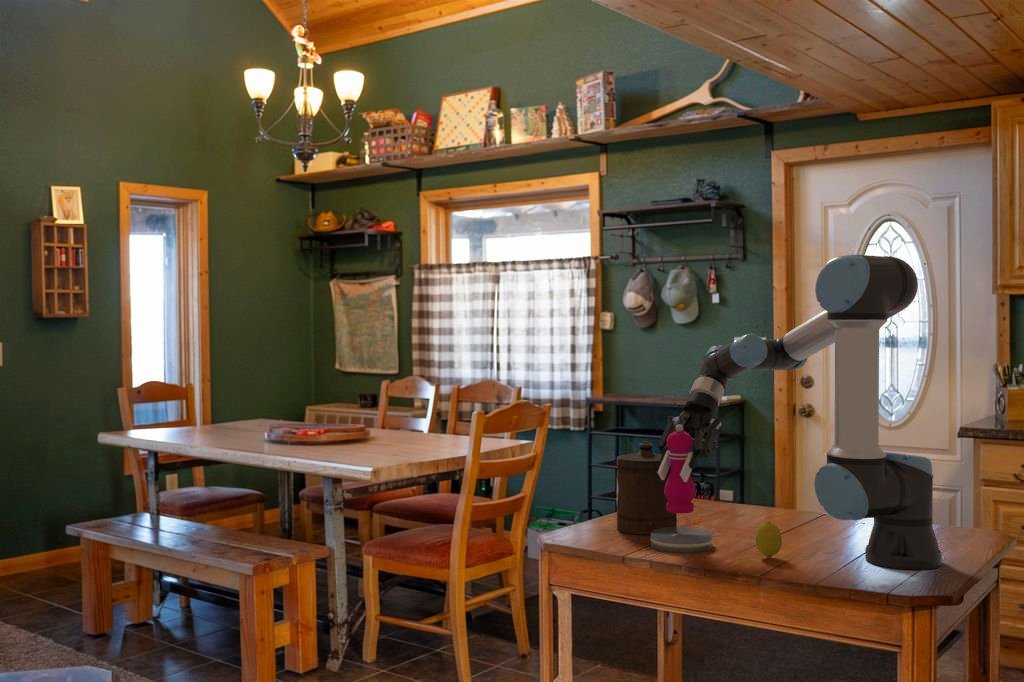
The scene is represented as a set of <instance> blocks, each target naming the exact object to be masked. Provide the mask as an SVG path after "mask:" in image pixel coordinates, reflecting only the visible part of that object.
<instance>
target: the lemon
mask: <svg viewBox="0 0 1024 682" xmlns="http://www.w3.org/2000/svg"><path fill="white" fill-rule="evenodd" d="M780 530H781V529H780V528H779V527H778V526H776V525H775V524H773V522H772V523H771V521H766V523H762V524H761V525H760V526H758V528H757V530H756V534H755V546H756V549H757V550H758V551H759V553H761V554H762V555H764V556H765V558H767V559H771V558H772V557H773V556H774V555H777V554H778V553H779V552H780V550H781V548H782V544H783V541H782V539H783V538H782V537H783V536H782V533H781V531H780Z"/></svg>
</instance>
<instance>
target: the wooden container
mask: <svg viewBox="0 0 1024 682" xmlns="http://www.w3.org/2000/svg"><path fill="white" fill-rule="evenodd" d="M653 448H654V445H653V443H652V442H650V441H649V440H643V441H641V442H639V451H638V452H637V453H626V454H620V455H617V457H616V528H617V529H616V530H618V531H620V532H622V533H626V534H631V535H642V536H651V531H652V530H654V529H658V528H664V527H678V526H677V524H678V523H677V522H678V520H677V514H678V513H671V512H668V511H667V510H666V503H667V502H669V500H668V499H667V498H666V496H665V495H664V488H665V484H666V482H667V480H668V478H669V475H670V472H671V465H670V468H669V470H668V473H667V475H666V477H665V480H661V478H660V476H659V474H658V473H657V472H658V470H659V468H660V465H661V464H660V458H661V456H662V453H661V454H660V453H659V454H658V453H655V452H654V451H653V450H652V449H653Z"/></svg>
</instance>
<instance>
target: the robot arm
mask: <svg viewBox="0 0 1024 682" xmlns="http://www.w3.org/2000/svg"><path fill="white" fill-rule="evenodd" d="M918 281H919V280H918V277H917V274H916V272H915V270H914V269H913V267H912V266H911V265H910V264H909V263H908V262H906V261H905V260H903V259H901V258H899V257H897V256H896V257H895V256H886V255H885V256H879V255H865V254H848V255H847V254H846V255H839V256H836V257H835V256H834V258H831V259H830V260H829V261H827V262H826V263H825V266H823V267H821V269H820V271H819V272H818V275H817V278H816V282H815V288H814V289H815V290H814V291H815V297H816V301H817V302H818V303H819V307H821V308H822V309H823V311H821V312H820V313H817V314H816V315H815V316H813V317H811V318H810V319H808V320H806V321H804V322H803V323H802V324H800V325H798V326H796V327H795V328H793V329H792V330H789V332H787V333H785V334H783V335H781V336H780V337H778V338H774V339H773V338H771V339H763V338H762V337H761V336H758V335H757V334H755V333H747V334H744V335H742V336H739V337H738V338H735V340H733V341H732V342H731V343H729V344H728V345H726V346H725V345H723V344H722V345H720V344H719V345H714V346H711V347H710V348H709V349H708V350H707V352H706V354H705V355H704V356H703V360H702V363H701V365H700V368H699V371H698V372H697V374H696V378H695V379H694V382H693V384H692V387H691V388H690V391H689V395H688V396H687V398H686V401H685V403H684V407H683V410H682V412H681V413H680V414H679V416H673V415H669V416H668V417H667V424H666V425H665V428H664V430H663V433H662V435H661V437H660V439H659V441H658V444H657V448H658V450H659V452H660V453H661V454H662V456H661V458H660V464H661V465H660V468H659V470H658V472H657V473H658V474H659V476H660V478H661V480H665V477H666V475H667V473H668V470H669V468H670V465H671V459H669V452H670V450H669V448H668V447H667V438H668V436H669V435H670V434H671V433H673V432H676V426H677V425H679V424H680V425H682V426H683V432H686V433H688V434H689V435H690V433H694V435H693V436H694V437H693V446H692V448H691V450H692V451H689V454H688V456H687V458H686V461H685V463H684V466H683V468H682V471H681V473H680V476H681V478H682V479H683V481H684V482H687V481H688V478H689V476H691V473H692V470H695V469H697V467H698V463H699V461H700V459H701V458H709V457H710V455H711V452H712V450H713V446H714V445H715V441H716V439H717V436H718V433H719V432H720V431H721V429H722V428H723V427H724V426H723V424H722V421H721V420H720V418H718V417H716V418H715V416H716V413H717V411H718V409H719V405H720V403H721V401H722V399H723V396H724V394H725V391H726V388H727V386H728V383H730V381H731V380H733V379H735V378H737V377H739V376H740V375H741V374H744V373H746V372H760V371H761V372H762V371H763V372H764V371H793V370H798V369H801V368H802V367H804V366H805V364H806V362H807V360H808V358H810V357H811V356H813V355H815V354H817V353H818V352H820V351H823V350H824V349H826V348H828V347H829V346H831V345H833V344H834V444H833V445H832V447H830V448H829V449H828V451H826V464H824V465H823V466H821V467H820V468H819V470H818V471H817V472H816V474H815V477H814V484H813V485H814V491H815V492H814V493H815V496H816V498H817V501H818V503H819V505H820V506H821V507H822V508H823V509H824V511H825V512H826V513H827V514H828V515H829V516H830V517H833V518H834V519H836V520H839V521H855V522H856V521H861V520H863V519H871V518H873V526H872V528H871V531H870V535H869V540H868V544H867V545H866V546H865V550H864V551H865V553H864V555H865V556H864V557H865V560H866V561H867V562H868V563H870V564H873V565H876V566H879V567H885V568H891V569H899V570H911V571H912V570H917V571H919V570H921V571H922V570H931V569H936V568H939V567H941V566H942V563H943V561H942V558H943V557H942V555H943V554H942V552H941V549H939V543H938V539H937V536H936V534H935V531H934V527H933V523H934V522H933V505H934V504H933V498H934V497H933V488H934V487H933V484H934V483H933V479H934V474H933V464H932V461H931V460H930V459H929V458H928V457H926V456H923V455H922V456H919V455H913V454H905V453H896V452H888V451H887V452H885V451H884V450H882V449H881V447H880V446H879V439H880V438H879V436H880V435H879V433H880V432H879V427H880V425H879V424H880V423H879V422H880V420H879V419H880V418H879V415H880V413H879V412H880V403H879V402H880V400H879V399H880V330H881V328H882V327H883V326H884V325H885V324H886V323H887V322H888V319H890V318H892V317H894V316H895V315H897V314H899V313H900V312H903V311H904V310H905V309H907V308H908V307H909V306H910V305H911V304H912V303H913V301H914V300H915V298H916V296H917V293H918V288H919V284H918V283H919V282H918ZM707 428H708V429H707ZM705 429H707V432H706V434H705V431H706V430H705Z"/></svg>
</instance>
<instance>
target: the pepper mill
mask: <svg viewBox="0 0 1024 682" xmlns="http://www.w3.org/2000/svg"><path fill="white" fill-rule="evenodd" d="M693 445H694V439H693V437H692V435H690V433H689V434H688V433H686V432H683V426H682V425H680V423H678V425H677V426H676V429H675V432H673V433H671V434H670V435H669V436H668V438H667V447H668V448H669V450H670V452H669V459H671V472H670V475H669V478H668V480H667V482H666V484H665V488H664V495H665V496H666V498H667V499H668V500H669V502H667V503H666V510H667V511H668V512H671V513H677V514H690V513H693V512H694V511H695V508H694V507H695V505H694V502H692V501H693V500H694V499H695V497H696V495H697V493H696V491H697V490H696V486H695V483H694V481H693V479H692V476H691V475H690V476H689V478H688V481H687V482H684V481H683V479H682V478H681V476H680V473H681V471H682V468H683V466H684V463H685V461H686V458H687V456H688V454H689V452H690V450H692V449H693Z"/></svg>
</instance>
